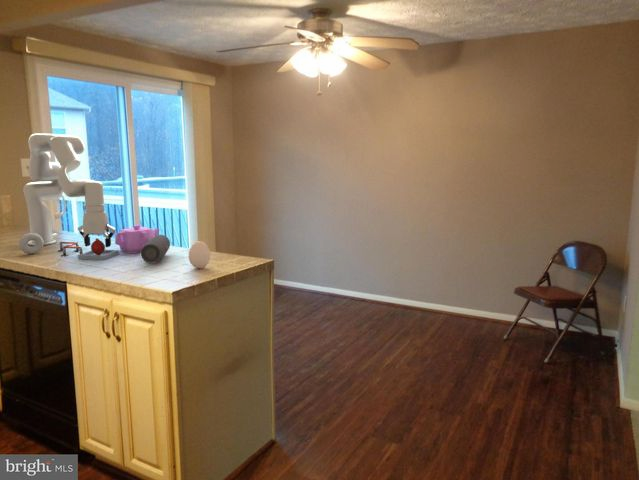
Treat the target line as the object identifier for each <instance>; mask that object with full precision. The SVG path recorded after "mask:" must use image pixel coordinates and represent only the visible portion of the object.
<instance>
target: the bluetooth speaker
mask: <svg viewBox="0 0 639 480" xmlns="http://www.w3.org/2000/svg"><path fill="white" fill-rule="evenodd" d="M170 246H171V241H170V239H169V237H167V236H166V235H165V234H157V236H154V237H153V238H151V239H150V240H149V241H148V242H147V243H146V244H145V245H144V246H143V248H142V250H141V252H140V257H141V258H142V260H143V261H144V262H145V263H149V264H153V263H159V262H160V261H161V260H162V259H163V257H164V256H165V255H166V254H167V252H168V251H169V249H170ZM161 258H162V259H161ZM158 261H159V262H158Z"/></svg>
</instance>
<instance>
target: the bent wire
mask: <svg viewBox="0 0 639 480" xmlns="http://www.w3.org/2000/svg"><path fill="white" fill-rule="evenodd" d="M63 244H65V245H63ZM67 249H73V252H74V251H75V253H78V251H80V252H79V255H80V254H83V253H84V252H83V247H82V246H79V242H78V241H59V249H58V250H57V251H58V252H62V254H61V255H60V257H62V258H63V256H64V257H68V255H70V254H68V253H67Z"/></svg>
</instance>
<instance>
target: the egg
mask: <svg viewBox="0 0 639 480" xmlns="http://www.w3.org/2000/svg"><path fill="white" fill-rule="evenodd" d="M188 260H189V263H190V264H191V266H192V267H194V268H195V269H199V268H200V269H203V268H205V267H206V266H207V265H208V264H209V262H210V261H211V252H210V248H209V247H208V245H207V244H206V243H205V242H204V241H202V240H197V241H195V242H193V244H192V245H191V246H190V248H189V250H188Z"/></svg>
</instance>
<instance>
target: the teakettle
mask: <svg viewBox="0 0 639 480" xmlns="http://www.w3.org/2000/svg"><path fill="white" fill-rule="evenodd" d="M159 232H160V228H154V229H153V228H150V227H146V226H141V224H134V225H133V226H132V227H131V228H124V229H123V228H122V229H121V230H120V231H118V232H115V234H114V235H115V239H114V240H115V241H114V244H115V245H116V246H119V248H120V251H122V252H125V253H126V254H127V253H128V254H138V253H141V250H142V248H143V246H144V245H145V244H146V243H147V242H148V241H149V240H150V239H151V238H153V237H154V236H157V235H159Z"/></svg>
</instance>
